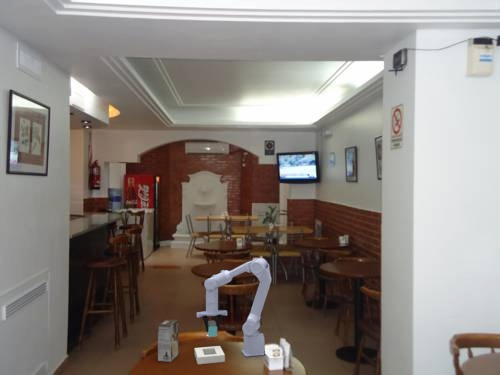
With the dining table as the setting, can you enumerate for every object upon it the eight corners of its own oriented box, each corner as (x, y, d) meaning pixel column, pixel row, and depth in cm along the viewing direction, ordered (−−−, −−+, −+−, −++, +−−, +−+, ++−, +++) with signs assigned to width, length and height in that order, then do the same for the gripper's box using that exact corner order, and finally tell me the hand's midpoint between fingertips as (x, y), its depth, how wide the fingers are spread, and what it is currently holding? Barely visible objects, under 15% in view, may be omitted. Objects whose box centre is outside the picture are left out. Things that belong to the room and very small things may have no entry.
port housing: (220, 352, 204) (220, 345, 204) (224, 361, 192) (224, 354, 192) (194, 354, 201) (194, 348, 201) (197, 364, 189) (197, 357, 189)
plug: (215, 332, 211) (215, 320, 211) (217, 336, 206) (217, 323, 206) (206, 333, 210) (206, 320, 210) (208, 336, 205) (208, 324, 205)
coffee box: (165, 353, 202) (165, 319, 202) (178, 354, 201) (178, 319, 201) (157, 361, 193) (157, 324, 193) (171, 362, 192) (171, 325, 192)
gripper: (225, 299, 214) (225, 327, 214) (195, 301, 210) (195, 329, 210) (228, 303, 207) (228, 331, 207) (197, 305, 203) (197, 334, 203)
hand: (211, 331), depth 208 cm, fingers closed on plug, 4 cm apart
